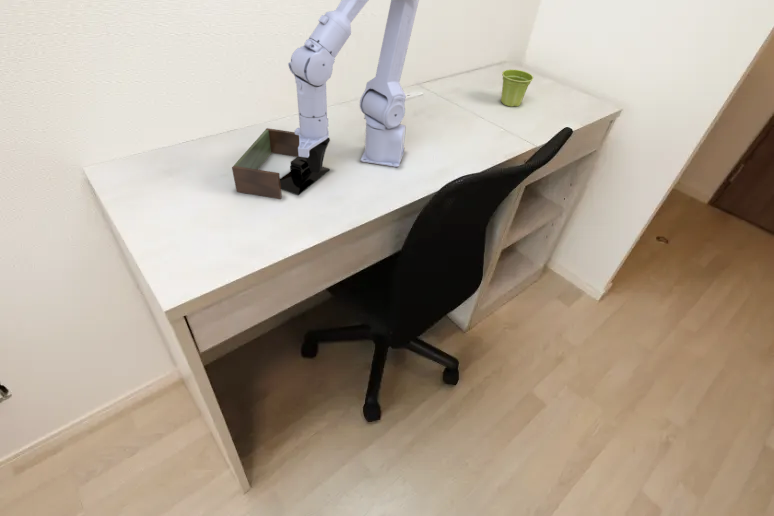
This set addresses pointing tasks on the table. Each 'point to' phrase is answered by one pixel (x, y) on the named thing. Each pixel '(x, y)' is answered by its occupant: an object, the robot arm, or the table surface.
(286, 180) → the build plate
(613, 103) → the table surface
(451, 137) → the table surface
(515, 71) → the plant pot
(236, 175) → the stall
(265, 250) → the table surface
